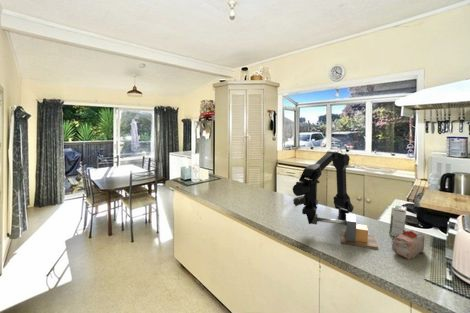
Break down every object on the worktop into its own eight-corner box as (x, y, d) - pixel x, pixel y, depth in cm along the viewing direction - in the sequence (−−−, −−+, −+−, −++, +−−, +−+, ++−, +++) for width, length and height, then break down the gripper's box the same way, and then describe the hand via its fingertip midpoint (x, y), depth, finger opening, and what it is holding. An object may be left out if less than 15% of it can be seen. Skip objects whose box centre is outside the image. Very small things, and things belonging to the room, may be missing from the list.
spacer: (354, 235, 118) (354, 223, 117) (365, 237, 116) (366, 225, 115) (355, 240, 113) (356, 228, 112) (367, 242, 111) (368, 230, 110)
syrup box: (390, 231, 124) (392, 204, 122) (404, 234, 120) (406, 206, 118) (389, 235, 119) (391, 207, 118) (403, 238, 116) (405, 210, 114)
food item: (410, 262, 96) (412, 239, 95) (389, 253, 103) (391, 231, 102) (425, 252, 103) (427, 230, 102) (404, 244, 110) (406, 224, 109)
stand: (340, 232, 123) (341, 212, 122) (373, 237, 118) (375, 216, 116) (341, 243, 112) (342, 221, 111) (378, 249, 107) (379, 225, 105)
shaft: (309, 220, 125) (309, 213, 124) (352, 226, 117) (353, 218, 116) (308, 223, 121) (308, 215, 120) (353, 229, 113) (354, 221, 113)
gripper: (297, 186, 132) (296, 213, 134) (291, 196, 115) (291, 227, 117) (318, 188, 128) (317, 216, 130) (316, 198, 111) (315, 230, 113)
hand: (310, 222), depth 123 cm, fingers closed on shaft, 4 cm apart
